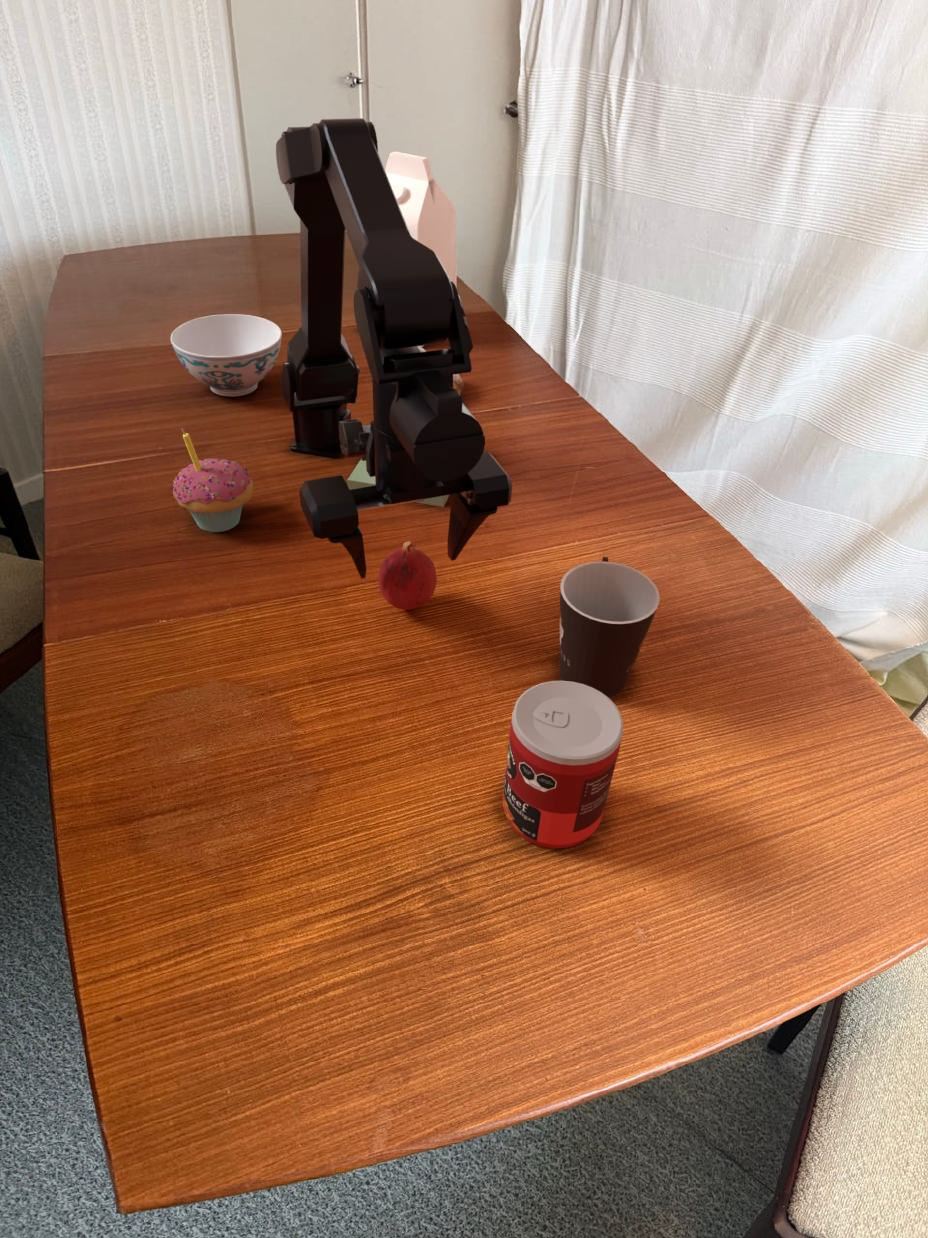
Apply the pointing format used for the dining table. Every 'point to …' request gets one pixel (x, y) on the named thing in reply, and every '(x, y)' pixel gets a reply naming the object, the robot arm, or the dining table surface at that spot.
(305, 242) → the robot arm
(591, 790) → the canned food
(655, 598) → the coffee mug
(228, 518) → the cupcake
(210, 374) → the chinaware
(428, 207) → the milk
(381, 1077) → the dining table surface
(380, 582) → the onion
